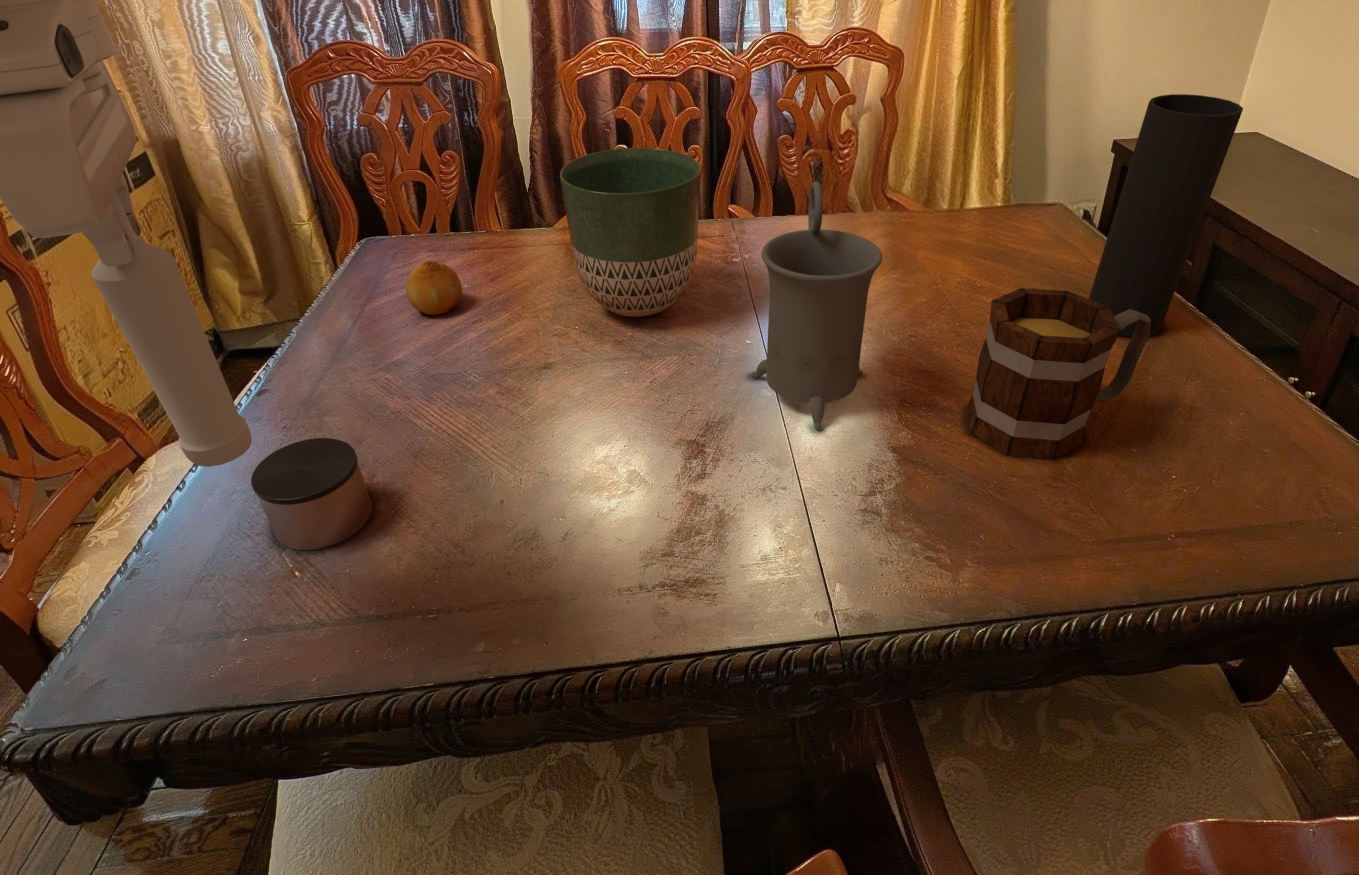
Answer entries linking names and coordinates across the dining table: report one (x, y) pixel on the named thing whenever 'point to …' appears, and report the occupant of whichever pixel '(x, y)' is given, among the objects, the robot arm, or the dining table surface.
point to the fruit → (433, 288)
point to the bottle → (173, 349)
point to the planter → (633, 226)
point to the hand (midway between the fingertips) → (125, 250)
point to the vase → (1163, 203)
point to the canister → (312, 493)
